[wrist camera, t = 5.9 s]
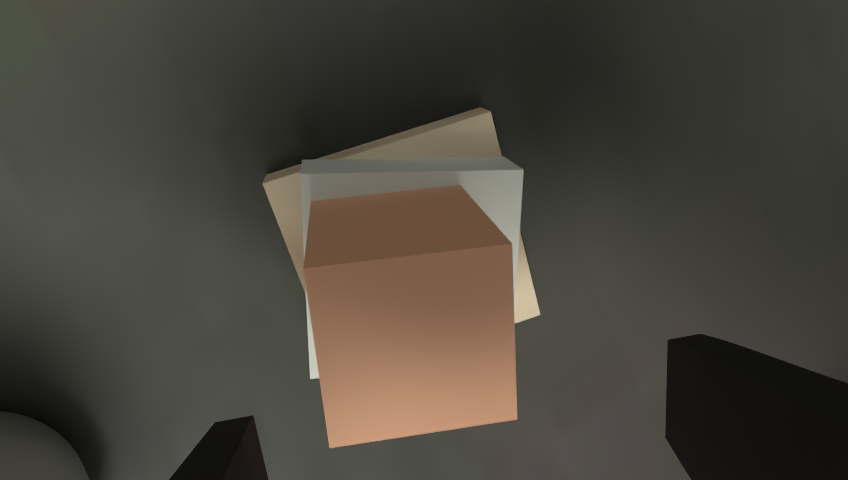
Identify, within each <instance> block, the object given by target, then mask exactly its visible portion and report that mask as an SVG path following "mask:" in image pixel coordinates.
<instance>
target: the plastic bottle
mask: <svg viewBox="0 0 848 480" xmlns="http://www.w3.org/2000/svg"><path fill="white" fill-rule="evenodd" d="M0 480H89V477H88V475H87V473H86V470H85V468H84V466H83V464H82V462H81V460H80V458H79V456H78V454H77V453H76V452H75V450H74V449H73V447H72V446H71V445H70V443H69V442H68V441H67V440H65V439H64V438H63V437H62V436H61V435H60V434H59V433H58V432H56V431H55V430H53V429H52V428H50V427H49V426H47V425H46V424H44V423H42V422H39V421H37V420H35V419H32V418H30V417H27V416H23V415H20V414H16V413H12V412H2V411H0Z"/></svg>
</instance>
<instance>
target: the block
mask: <svg viewBox="0 0 848 480" xmlns="http://www.w3.org/2000/svg"><path fill="white" fill-rule="evenodd" d="M303 270H304V277H305V284H306V290H307V297H308V304H309V311H310V318H311V324H312V331H313V338H314V345H315V352H316V358H317V365H318V372H319V379H320V386H321V392H322V399H323V406H324V413H325V420H326V426H327V433H328V440H329V447H330V448H334V447H340V446H347V445H353V444H360V443H366V442H373V441H379V440H386V439H393V438H399V437H406V436H412V435H419V434H425V433H432V432H438V431H445V430H451V429H458V428H464V427H471V426H477V425H484V424H490V423H497V422H504V421H510V420H517V395H516V359H515V323H514V287H513V251H512V243H511V242H510V240H509V239H508V238H507V237H506V236H505V235H504V234H503V233H502V231H501V230H500V229H499V228H498V227H497V226H496V225H495V224H494V222H493V221H492V220H491V219H490V218H489V217H488V216H487V215H486V213H485V212H484V211H483V210H482V209H481V208H480V207H479V205H478V204H477V203H476V202H475V201H474V200H473V199H472V198H471V196H470V195H469V194H468V193H467V192H466V191H465V190H464V189H463V187H462V186H461V185H456V186H447V187H437V188H428V189H419V190H409V191H400V192H391V193H381V194H372V195H363V196H353V197H344V198H335V199H325V200H316V201H311V206H310V214H309V223H308V232H307V241H306V249H305V258H304V267H303Z"/></svg>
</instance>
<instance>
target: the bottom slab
mask: <svg viewBox="0 0 848 480" xmlns="http://www.w3.org/2000/svg"><path fill="white" fill-rule="evenodd" d="M443 157H502V155H501V151H500V147H499V143H498V139H497V135H496V131H495V127H494V123H493V118H492V114H491V111H488V110H486V109H484V108H481V107H479V108H476V109H473V110H470V111H467V112H463V113H460V114H457V115H454V116H451V117H448V118H444V119H441V120H438V121H435V122H432V123H429V124H425V125H422V126H419V127H416V128H413V129H410V130H406V131H403V132H400V133H397V134H394V135H391V136H387V137H384V138H381V139H378V140H375V141H372V142H368V143H365V144H362V145H359V146H356V147H353V148H349V149H346V150H343V151H340V152H337V153H334V154H330V155H327V156H324V157H321V158H318V159H383V158H443ZM315 160H316V159H315ZM300 169H301V164H299V165H295V166H292V167H289V168H286V169H283V170H280V171H276V172H273V173H270V174H267V175H266V176H265V179H264V181H263V183H262V184H263V186H264V189H265V191H266V194H267V197H268V199H269V202H270V204H271V207H272V209H273V212H274V215H275V217H276V220H277V222H278V225H279V227H280V230H281V232H282V235H283V238H284V240H285V243H286V245H287V248H288V250H289V253H290V256H291V258H292V261H293V263H294V266H295V268H296V271H297V273H298V276H299V279H300V281H301V284H302V286H303V289H304V291H305V294H306V287H305V277H304V270H303V267H304V249H303V230H302V210H301V191H300ZM538 315H540V312H539V308H538V303H537V299H536V295H535V291H534V287H533V283H532V279H531V275H530V271H529V266H528V262H527V258H526V254H525V250H524V246H523V242H522V238H521V234H520V236H519V251H518V267H517V283H516V299H515V315H514V323H518V322H520V321H523V320H526V319H529V318H532V317H535V316H538Z"/></svg>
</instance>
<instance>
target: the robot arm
mask: <svg viewBox="0 0 848 480" xmlns="http://www.w3.org/2000/svg"><path fill="white" fill-rule="evenodd" d="M665 438H666V439H667V441H668V443H669V444H670V446H671V447H672V449H673V451H674V452H675V454H676V456H677V457H678V459H679V461H680V462H681V464H682V466H683V467H684V469H685V470H686V472H687V473H688V475H689V476H690V478H691V479H692V480H848V383H845V382H842V381H839V380H836V379H833V378H830V377H827V376H824V375H821V374H819V373H816V372H813V371H810V370H807V369H804V368H801V367H799V366H796V365H793V364H790V363H787V362H785V361H782V360H779V359H776V358H773V357H771V356H768V355H765V354H762V353H759V352H757V351H754V350H751V349H748V348H745V347H742V346H739V345H736V344H733V343H730V342H727V341H724V340H721V339H717V338H714V337H710V336H706V335H702V334H697V335H692V336H686V337H681V338H675V339H670V340H668V352H667V394H666V436H665ZM169 480H268V476H267V472H266V468H265V464H264V459H263V455H262V451H261V446H260V442H259V438H258V434H257V429H256V425H255V421H254V417H253V416H248V417H242V418H237V419H231V420H226V421H220V422H215V423H214V424H213V426H212V427H211V428H210V429H209V430H208V432H207V433H206V434H205V435H204V437H203V438H202V439H201V440H200V442H199V443H198V444H197V445H196V447H195V448H194V449H193V450H192V452H191V453H190V454H189V455H188V457H187V458H186V459H185V460H184V462H183V463H182V464H181V465H180V467H179V468H178V469H177V470H176V472H175V473H174V474H173V475H172V477H171V478H170V479H169Z"/></svg>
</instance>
